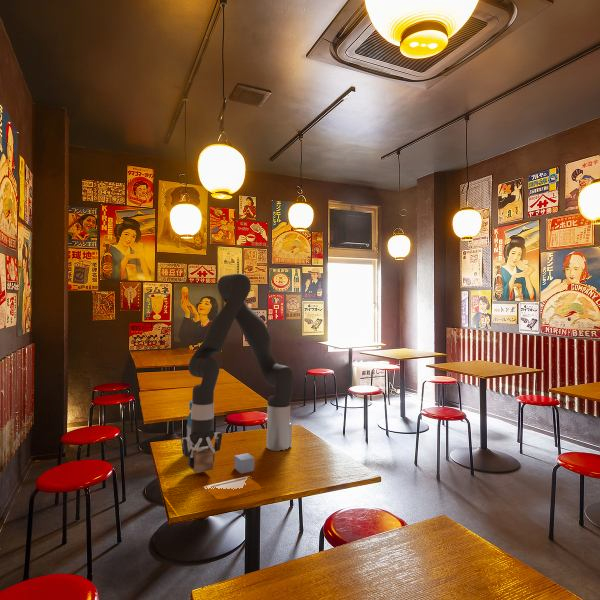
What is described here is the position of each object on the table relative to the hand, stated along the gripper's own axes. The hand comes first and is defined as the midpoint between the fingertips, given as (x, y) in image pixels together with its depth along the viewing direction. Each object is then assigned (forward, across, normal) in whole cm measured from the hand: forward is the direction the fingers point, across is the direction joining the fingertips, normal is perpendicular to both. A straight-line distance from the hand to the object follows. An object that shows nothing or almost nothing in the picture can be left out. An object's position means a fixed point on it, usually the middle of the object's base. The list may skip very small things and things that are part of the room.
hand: (201, 465), depth 143 cm
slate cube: (+3, -14, +4) cm, 15 cm away
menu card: (+3, -5, +15) cm, 16 cm away
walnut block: (+1, 0, 0) cm, 1 cm away
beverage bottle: (+3, -6, -20) cm, 21 cm away
